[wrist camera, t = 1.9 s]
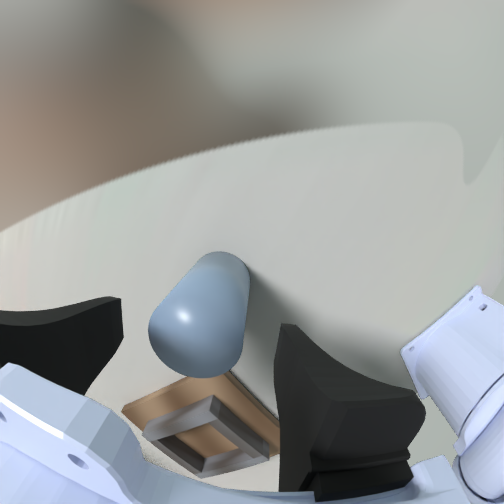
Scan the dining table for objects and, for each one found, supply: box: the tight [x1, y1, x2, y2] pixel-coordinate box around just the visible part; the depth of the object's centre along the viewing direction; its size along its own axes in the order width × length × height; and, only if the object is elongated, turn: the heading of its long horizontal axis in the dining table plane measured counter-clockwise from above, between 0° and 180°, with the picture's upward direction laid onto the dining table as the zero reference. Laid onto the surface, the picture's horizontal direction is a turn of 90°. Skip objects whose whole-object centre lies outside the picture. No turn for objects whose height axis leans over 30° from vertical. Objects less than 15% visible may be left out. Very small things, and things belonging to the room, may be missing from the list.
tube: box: [148, 252, 250, 378], centre depth 15 cm, size 4×4×8 cm
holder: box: [121, 371, 280, 479], centre depth 20 cm, size 12×12×3 cm
